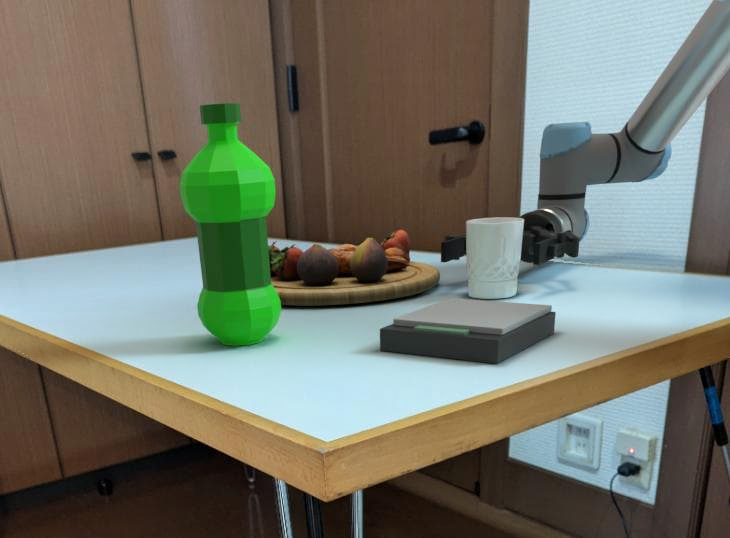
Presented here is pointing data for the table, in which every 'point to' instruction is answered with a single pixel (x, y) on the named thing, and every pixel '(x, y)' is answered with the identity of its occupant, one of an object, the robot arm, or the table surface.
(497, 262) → the white cup
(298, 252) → the wooden plate
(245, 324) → the plastic bottle
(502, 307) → the kitchen scale
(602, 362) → the table surface
